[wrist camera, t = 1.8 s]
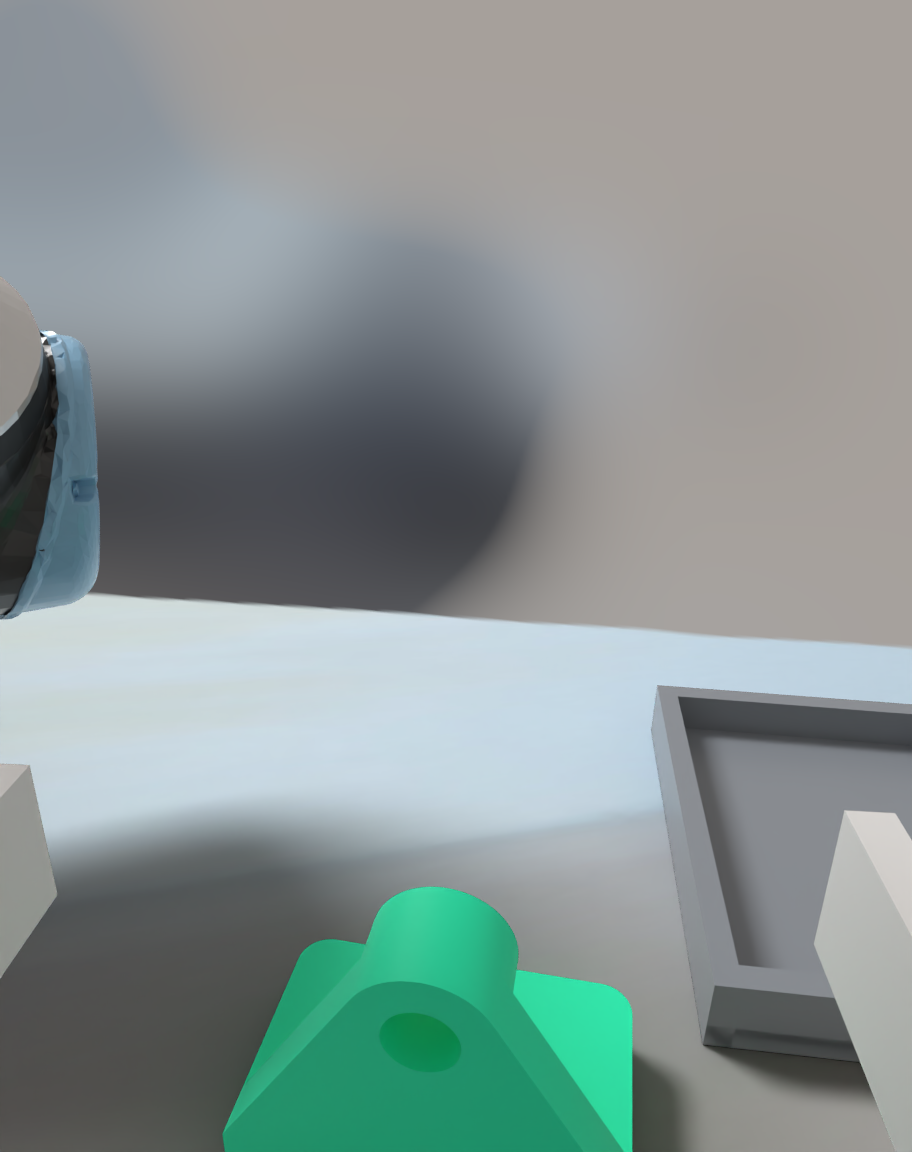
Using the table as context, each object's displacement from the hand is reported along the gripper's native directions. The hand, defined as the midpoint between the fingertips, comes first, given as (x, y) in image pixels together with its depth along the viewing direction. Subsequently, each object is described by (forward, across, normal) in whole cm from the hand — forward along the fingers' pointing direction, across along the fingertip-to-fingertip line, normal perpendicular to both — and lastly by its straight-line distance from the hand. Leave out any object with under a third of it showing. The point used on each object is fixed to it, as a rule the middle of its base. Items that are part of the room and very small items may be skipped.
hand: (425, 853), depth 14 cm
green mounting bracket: (+9, 0, -18) cm, 20 cm away
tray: (+21, +17, -18) cm, 33 cm away
